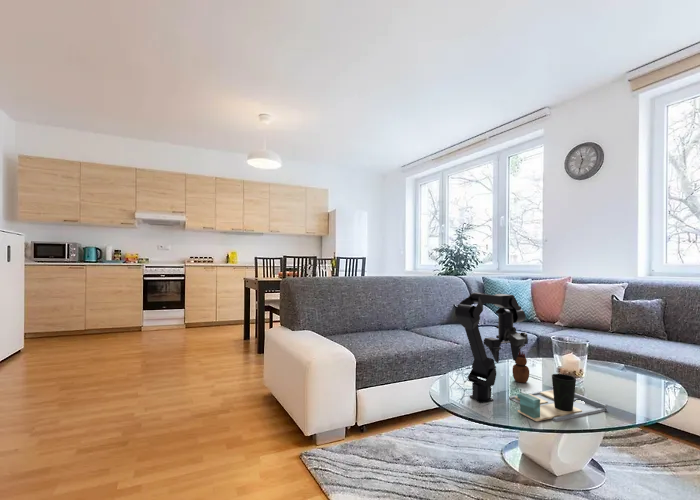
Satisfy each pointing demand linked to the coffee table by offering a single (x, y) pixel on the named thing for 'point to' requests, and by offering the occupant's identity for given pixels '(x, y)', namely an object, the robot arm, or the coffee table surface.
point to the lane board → (586, 408)
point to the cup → (563, 391)
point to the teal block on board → (540, 409)
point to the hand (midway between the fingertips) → (505, 361)
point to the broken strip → (546, 393)
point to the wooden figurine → (521, 369)
